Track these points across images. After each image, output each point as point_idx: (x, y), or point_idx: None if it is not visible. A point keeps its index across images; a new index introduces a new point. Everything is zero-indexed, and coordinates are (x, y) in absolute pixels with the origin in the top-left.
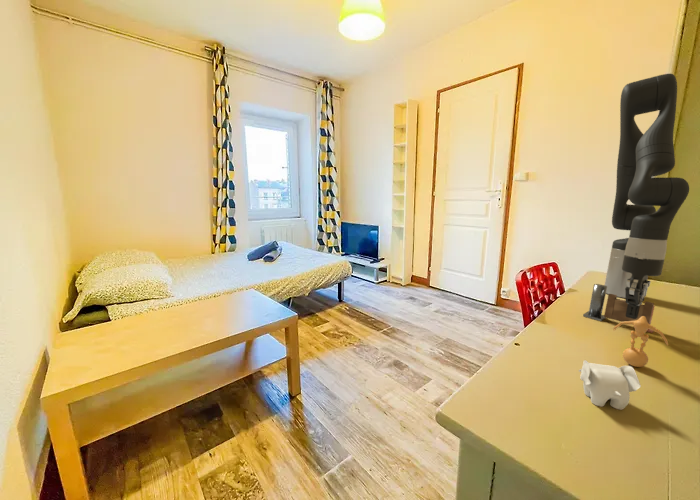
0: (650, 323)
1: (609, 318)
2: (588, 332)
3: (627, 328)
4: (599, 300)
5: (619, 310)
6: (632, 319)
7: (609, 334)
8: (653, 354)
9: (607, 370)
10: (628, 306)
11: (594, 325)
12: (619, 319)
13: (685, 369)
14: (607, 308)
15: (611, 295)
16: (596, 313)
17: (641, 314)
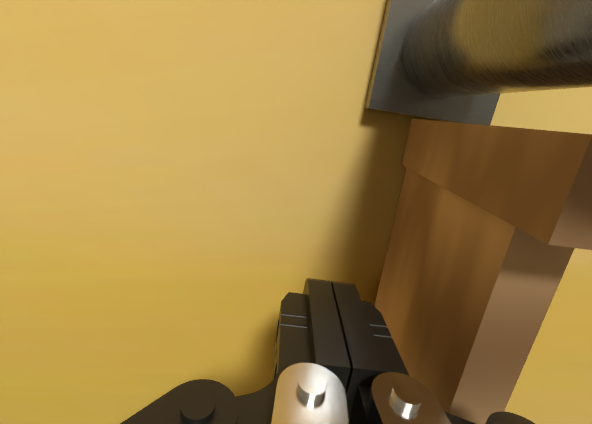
0: None
1: (404, 155)
2: (39, 63)
3: (347, 248)
4: (496, 30)
5: (432, 233)
6: (393, 293)
7: (134, 175)
8: (48, 345)
9: None
10: (314, 349)
11: (230, 78)
12: (400, 216)
13: (4, 420)
14: (445, 137)
15: (572, 184)
16: (413, 58)
17: None
